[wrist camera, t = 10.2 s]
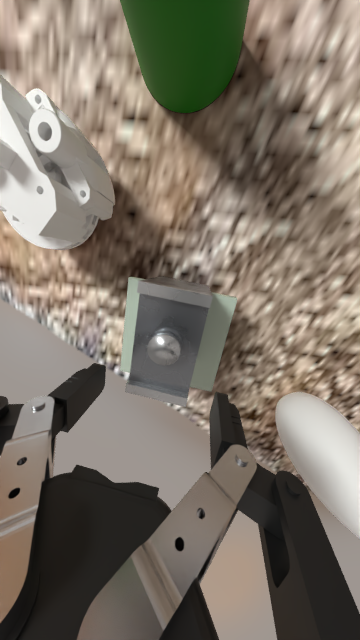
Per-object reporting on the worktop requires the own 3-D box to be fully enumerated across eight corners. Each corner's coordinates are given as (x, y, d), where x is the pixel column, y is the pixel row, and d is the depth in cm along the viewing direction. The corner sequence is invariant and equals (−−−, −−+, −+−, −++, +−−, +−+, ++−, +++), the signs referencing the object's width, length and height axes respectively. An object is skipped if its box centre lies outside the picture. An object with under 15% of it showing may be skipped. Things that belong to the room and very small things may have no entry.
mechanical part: (23, 184, 23) (-153, 100, 11) (99, 132, 20) (-30, -42, 9) (68, 268, 25) (-41, 267, 14) (141, 230, 23) (80, 191, 11)
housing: (208, 285, 19) (213, 296, 11) (191, 359, 21) (185, 408, 14) (162, 276, 19) (137, 280, 11) (151, 350, 22) (124, 393, 14)
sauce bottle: (307, 369, 25) (538, 589, 8) (328, 410, 26) (563, 673, 9) (255, 390, 27) (349, 603, 10) (277, 427, 28) (393, 672, 11)
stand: (230, 292, 23) (237, 298, 19) (209, 370, 27) (211, 391, 22) (143, 275, 24) (128, 277, 19) (134, 353, 28) (120, 370, 23)
